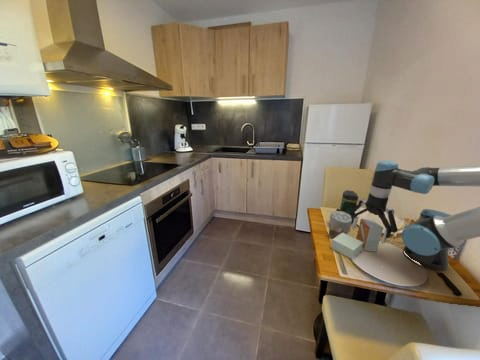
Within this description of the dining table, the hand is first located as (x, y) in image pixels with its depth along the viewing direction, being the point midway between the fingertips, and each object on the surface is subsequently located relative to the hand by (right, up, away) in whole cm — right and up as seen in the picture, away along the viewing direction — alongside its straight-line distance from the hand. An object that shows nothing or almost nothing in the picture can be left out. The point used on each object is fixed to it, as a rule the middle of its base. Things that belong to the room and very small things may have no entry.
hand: (367, 235), depth 97 cm
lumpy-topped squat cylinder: (-5, -1, +18) cm, 18 cm away
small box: (0, -6, +2) cm, 6 cm away
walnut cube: (-12, -3, +9) cm, 15 cm away
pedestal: (-11, -7, -1) cm, 13 cm away
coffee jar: (+3, +2, +26) cm, 27 cm away
